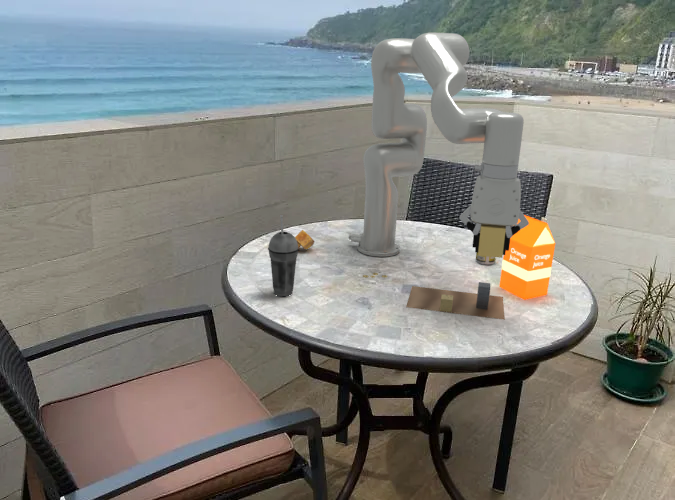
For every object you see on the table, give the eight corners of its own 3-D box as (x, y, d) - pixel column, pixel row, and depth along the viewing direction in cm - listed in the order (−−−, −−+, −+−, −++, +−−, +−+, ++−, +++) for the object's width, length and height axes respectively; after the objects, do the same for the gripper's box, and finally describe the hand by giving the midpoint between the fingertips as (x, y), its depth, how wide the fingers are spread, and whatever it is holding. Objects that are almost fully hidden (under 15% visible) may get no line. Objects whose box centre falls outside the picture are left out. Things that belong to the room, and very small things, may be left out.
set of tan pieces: (361, 282, 152) (361, 276, 152) (373, 277, 156) (373, 271, 155) (376, 288, 149) (376, 281, 148) (388, 283, 153) (389, 276, 152)
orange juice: (523, 304, 141) (535, 225, 135) (498, 291, 149) (508, 215, 142) (547, 299, 145) (559, 221, 138) (521, 286, 152) (532, 211, 145)
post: (476, 308, 135) (478, 286, 134) (476, 303, 138) (478, 282, 136) (487, 309, 135) (490, 287, 133) (487, 305, 137) (490, 283, 135)
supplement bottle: (493, 259, 171) (497, 227, 168) (495, 265, 166) (500, 232, 163) (474, 257, 172) (478, 225, 168) (476, 264, 166) (480, 231, 163)
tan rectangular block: (477, 255, 130) (481, 226, 127) (478, 248, 134) (481, 220, 132) (502, 257, 129) (505, 228, 126) (501, 250, 133) (504, 222, 131)
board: (405, 311, 135) (406, 307, 135) (411, 290, 147) (412, 285, 147) (504, 324, 131) (504, 319, 130) (502, 301, 143) (502, 296, 142)
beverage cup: (302, 290, 145) (304, 212, 138) (291, 301, 138) (291, 220, 132) (275, 285, 147) (275, 208, 140) (263, 296, 140) (262, 216, 134)
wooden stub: (439, 310, 133) (441, 298, 132) (440, 306, 136) (441, 294, 135) (451, 312, 133) (452, 300, 132) (452, 307, 135) (453, 295, 134)
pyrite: (295, 254, 169) (300, 258, 173) (311, 238, 169) (315, 242, 173) (284, 243, 171) (288, 247, 174) (300, 227, 171) (304, 231, 175)
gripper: (458, 172, 124) (450, 253, 130) (542, 177, 120) (531, 261, 126) (459, 166, 131) (452, 243, 137) (539, 171, 127) (528, 250, 133)
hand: (490, 251), depth 131 cm, fingers closed on tan rectangular block, 5 cm apart
